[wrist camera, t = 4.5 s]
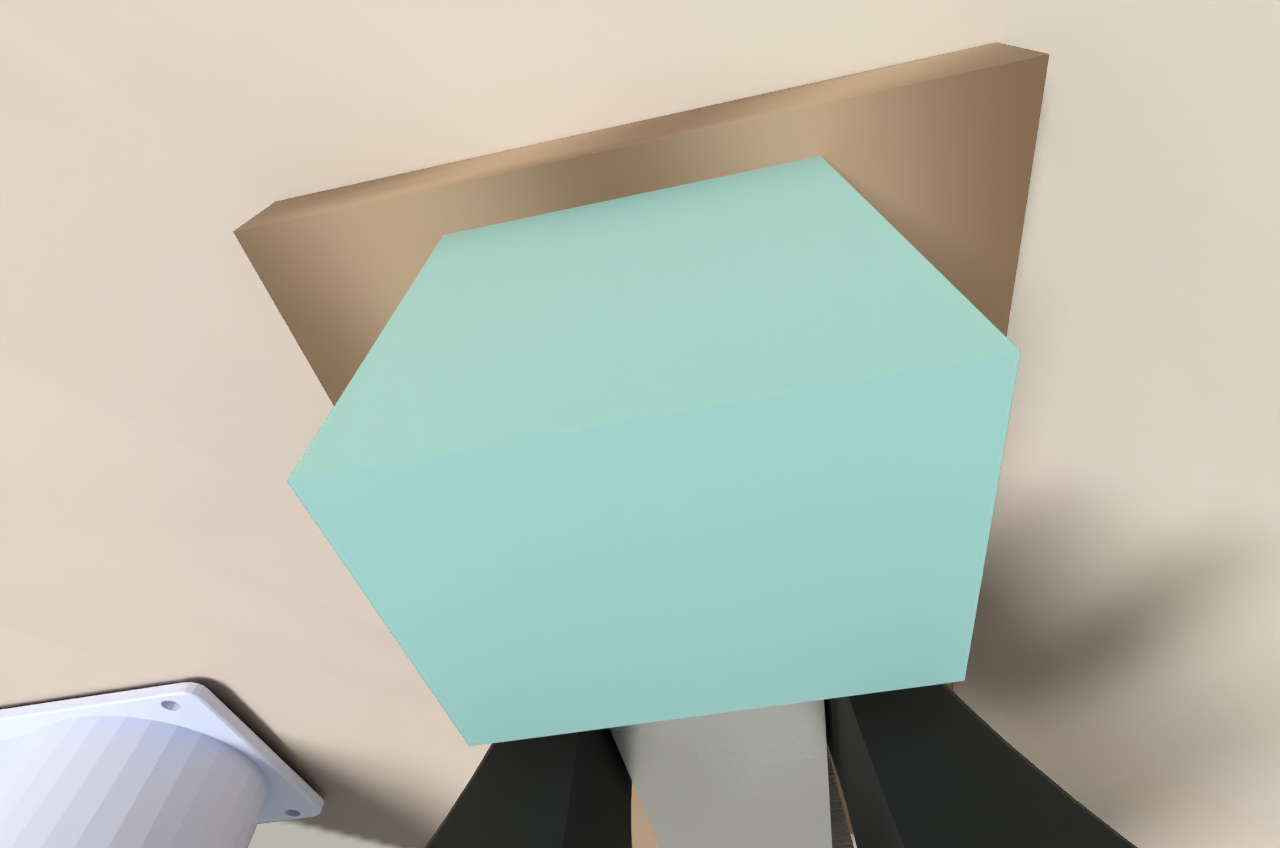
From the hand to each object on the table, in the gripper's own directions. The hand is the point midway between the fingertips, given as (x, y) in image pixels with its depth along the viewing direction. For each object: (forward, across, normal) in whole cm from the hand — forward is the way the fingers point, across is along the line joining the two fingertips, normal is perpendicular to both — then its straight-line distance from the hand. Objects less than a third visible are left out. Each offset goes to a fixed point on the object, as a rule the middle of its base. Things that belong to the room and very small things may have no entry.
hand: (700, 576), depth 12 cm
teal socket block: (+2, 0, -4) cm, 5 cm away
